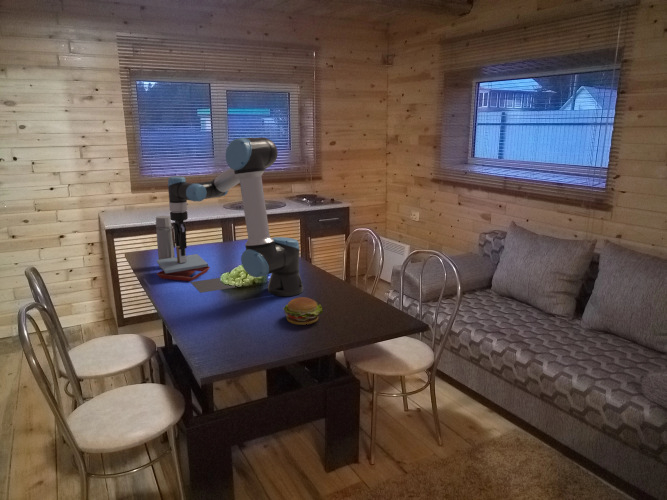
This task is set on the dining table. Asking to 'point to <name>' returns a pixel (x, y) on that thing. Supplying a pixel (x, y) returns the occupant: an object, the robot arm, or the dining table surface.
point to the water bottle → (164, 237)
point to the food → (302, 311)
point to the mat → (210, 285)
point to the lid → (175, 265)
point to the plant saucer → (183, 274)
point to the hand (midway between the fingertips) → (181, 260)
